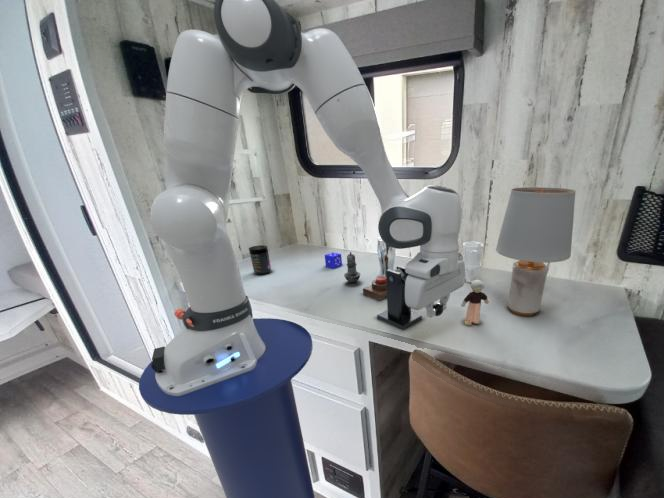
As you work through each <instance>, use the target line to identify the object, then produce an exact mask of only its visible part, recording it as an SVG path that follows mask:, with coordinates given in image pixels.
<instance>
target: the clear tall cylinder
mask: <svg viewBox="0 0 664 498" xmlns="http://www.w3.org/2000/svg"><path fill="white" fill-rule="evenodd" d="M462 248H463V250H462V251H463V253H462V256H463V262H464V264H465V282H466V283H472V281H474V280H475V274H476V270H477V271H478V270H480V269H481V268H482V263H481V258H482V250H483V249H484V243H482V242H479V241H465V242H463V243H462Z"/></svg>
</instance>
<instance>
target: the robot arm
mask: <svg viewBox="0 0 664 498" xmlns="http://www.w3.org/2000/svg"><path fill="white" fill-rule="evenodd" d="M213 20H214V21H213V22H214V26H215V30H216V33H217V34H212V33H210V32H207V31H204V30H200V29H186V30H183V31H181V33H180V34H179V35H178V36H177V37H176V38H177V39H176V41H175V44H174V47H173V51H172V55H171V59H170V63H169V69H168V73H167V74H168V75H167V81H166V90H165V91H166V93H165V94H166V95H165V104H164V105H165V106H164V107H165V108H164V120H163V121H164V123H163V139H162V140H163V141H162V144H163V149H164V156H165V157H164V158H165V159H164V160H165V177H166V181H165V182H166V186H165V187H166V188H165V190H163V191H162V192H160V193H159V194H158V195H157V196H156V197H155V198H154V200H153V201H152V204H151V207H150V212H149V219H150V225H151V228H152V230H153V232H154V233H155V234H156V236H157V237H158V238H159V239H160V241H161V244H162V245H163V248H164V250H165V251H166V254H167V255H168V257H169V259H170V260H171V262H172V264H173V266H174V268H175V270H176V272H177V274H178V276H179V279H180V282H181V285H182V287H183V290H184V293H185V297H186V299H187V302H188V306H189V307H188V309H187V310H185V309H183V308H177V309H175V311H174V312H173V314H174V316H175V317H176V318H177V319H178V320H180V321H182V323H183V328H181V330H180V331H179V332H178V333H177V334H176V335H175V336H174V337H173V338H172V339H171V340H170V341H169V342H168V343H167V344H166V345H165V346H160V347H156V348H154V349H153V353H152V357H151V362H152V363H151V362H150V363H151V367H152V369H153V370H154V371H156V374H155V378H156V382H157V384H158V386H159V388H160V389H161V390H162V391H163V392H164V393H166V394H168V395H171V396H182V395H185V394H187V393H190V392H193V391H196V390H198V389H201V388H204V387H207V386H209V385H212V384H215V383H218V382H221V381H223V380H226V379H229V378H232V377H234V376H237V375H240V374H243V373H245V372H248V371H251V370H253V369H254V368H255V366H256V363H257V361H258V359H259V358H260V357H261V356H262V355H263V353H264V352H265V349H266V346H265V344H264V342H263V341H262V339H261V338H260V336H259V334H258V332H257V330H256V327H255V325H254V322H253V319H254V318H253V309H252V305H251V302H250V299H249V296H248V295H246V291H245V287H244V282H243V279H242V274H241V271H240V266H239V264H238V260H237V258H236V254H235V251H234V248H233V246H232V242H231V238H230V235H229V232H228V228H227V219H228V214H229V206H230V196H231V188H232V180H233V169H234V161H235V151H236V145H237V136H238V129H239V123H240V122H239V121H240V113H241V104H242V99H243V96H244V94H245V92H246V91H247V90H248V92H250V93H251V94H269V95H284V94H287V93H289V92H291V91H292V90H293V89H294V88H295V87H297V88H299V89H300V90H301V92H303V94H304V96H305V97H306V99H307V101H308V103H309V105H310V107H311V109H312V111H313V113H314V115H315V116H316V118H317V120H318V122H319V125H320V126H321V127H322V129H323V131H324V132H325V134H326V135H327V136H328V138H329V140H331V142H332V143H333V145H334V146H335V147H336V149H338V151H340V152H342V153H343V154H344V155H346V156H347V157H348V158H350V159H351V160H352V161H353V162H355V164H356V165H357V166H358V167H359V168H360V169H361V171H362V172H363V174H364V175H365V177H366V179H367V180H368V182H369V183H368V184H369V185H370V186H371V188H372V190H373V193H374V195H375V196H376V198H377V200H378V201H379V205H380V210H381V215H380V217H379V220H378V225H377V229H378V235H379V238H380V237H381V238H382V240H383V241H384V242H385V243H386V244H387V245H388V246H390V247H392V248H396V250H403V249H410V248H415V247H419V251H418V252H417V253H416V255H415V256H414V257H413V258H412V259H411V260H409V261H408V262H407V263H405V272H406V273H407V274H409V275H408V276H407V278H406V281H405V303H406V305H407V306H408V307H410V308H411V310H415V311H421V310H422V309H424V308H425V310H426V316H427V317H428V318H434V317H436V316H435V315H436V309H433V305H434V304H435V302H437V301H439V302H437V303H438V304H440V305H441V306H442V307H443V311H445V310H447V304H448V301H449V299H450V297H451V294H452V293H453V292H455V291H457V290H459V289H461V288H462V287H464V285H465V282H466V269H465V264H464V262H463V253H461V252H460V244H459V235H460V232H461V228H462V227H461V226H462V201H461V198H460V197H461V196H460V195H459V194H458V192H457V191H456V190H454V189H452V188H449V187H446V186H440V185H426V186H424V188H422V190H420V191H418V192H417V193H415V194H414V195H411V196H409V195H408V194H407V193H406V192H405V191H404V189H403V187H402V185H401V183H400V181H399V179H398V177H397V175H396V173H395V171H394V169H393V167H392V165H391V162H390V159H389V158H388V155H387V152H386V149H385V143H384V139H383V134H382V130H381V124H380V120H379V117H378V114H377V113H378V112H377V111H376V108H375V104H374V101H373V98H372V96H371V93H370V91H369V88H368V86H367V85H366V82H365V80H364V77H363V76H362V74H361V72H360V70H359V68H358V66H357V64H356V62H355V60H354V59H353V57H352V56H351V54H350V52H349V50H348V48H347V46H345V44H344V43H343V41H342V40H341V38H340V37H339V36H338V35H337V34H336V33H335V32H334V31H332V29H328V28H324V27H318V28H314V29H313V28H312V29H310V30H309V31H306V32H302V29H301V26H300V23H299V21H298V19H297V18H296V17H295V16H294V15H292V14H291V13H290V12H289V11H287V10H286V9H285V8H284V7H283V6H281V5H280V4H279V3H278V2H277V1H276V0H214V5H213Z"/></svg>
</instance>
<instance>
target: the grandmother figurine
mask: <svg viewBox="0 0 664 498" xmlns="http://www.w3.org/2000/svg"><path fill="white" fill-rule="evenodd" d="M484 287H485V284H484V282H483V281H481V280H479V279H474V281H472V282H470V288H471V291H470V292H469V293H468V294H467V295H466V296H465V297H464V298H463V300H462V303H461V304H460V306H461V307H462V308H463V307H465V306H466V305H467V303H468V306H467V309H466V313H465V320H464V325H466V326H472V325H473V324H474V325H480V324H481V321H480V314H481V307H482V301H483V302H484V304H487V305H488V304H489V300H488V299H489V298H488V295H487V294H486V293H485V292H483V291H482V290H483V288H484Z"/></svg>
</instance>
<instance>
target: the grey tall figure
mask: <svg viewBox="0 0 664 498" xmlns="http://www.w3.org/2000/svg"><path fill="white" fill-rule="evenodd" d="M346 266H347V271H346V272H345V273H344V275H343V276H344V278H345V280H346V283H345V286H347V287H358V286H359V285H361V281H359V280H360V277H361V273H360V272H359V271H357V263H356V255H355V254H353V253H352V252H351V251H349V254H347V256H346Z"/></svg>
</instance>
